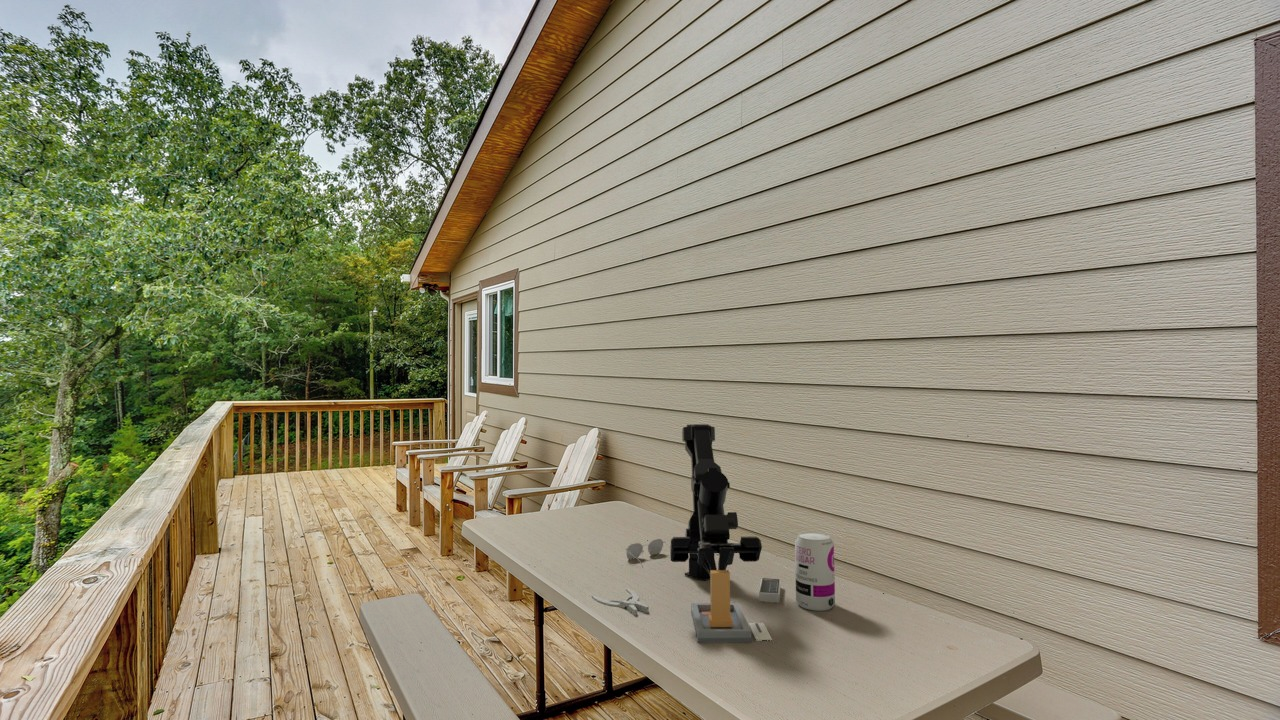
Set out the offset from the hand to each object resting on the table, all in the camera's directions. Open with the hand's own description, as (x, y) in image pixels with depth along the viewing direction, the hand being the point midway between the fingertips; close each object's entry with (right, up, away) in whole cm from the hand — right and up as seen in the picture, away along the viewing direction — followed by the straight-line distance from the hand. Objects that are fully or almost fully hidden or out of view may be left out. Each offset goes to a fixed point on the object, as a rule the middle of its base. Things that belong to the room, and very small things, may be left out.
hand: (719, 587), depth 122 cm
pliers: (-19, -9, +13) cm, 25 cm away
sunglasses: (-12, -11, +47) cm, 50 cm away
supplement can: (+23, -9, +12) cm, 27 cm away
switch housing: (+2, -8, 0) cm, 8 cm away
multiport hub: (+14, -9, +19) cm, 26 cm away
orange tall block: (0, -7, -2) cm, 7 cm away
